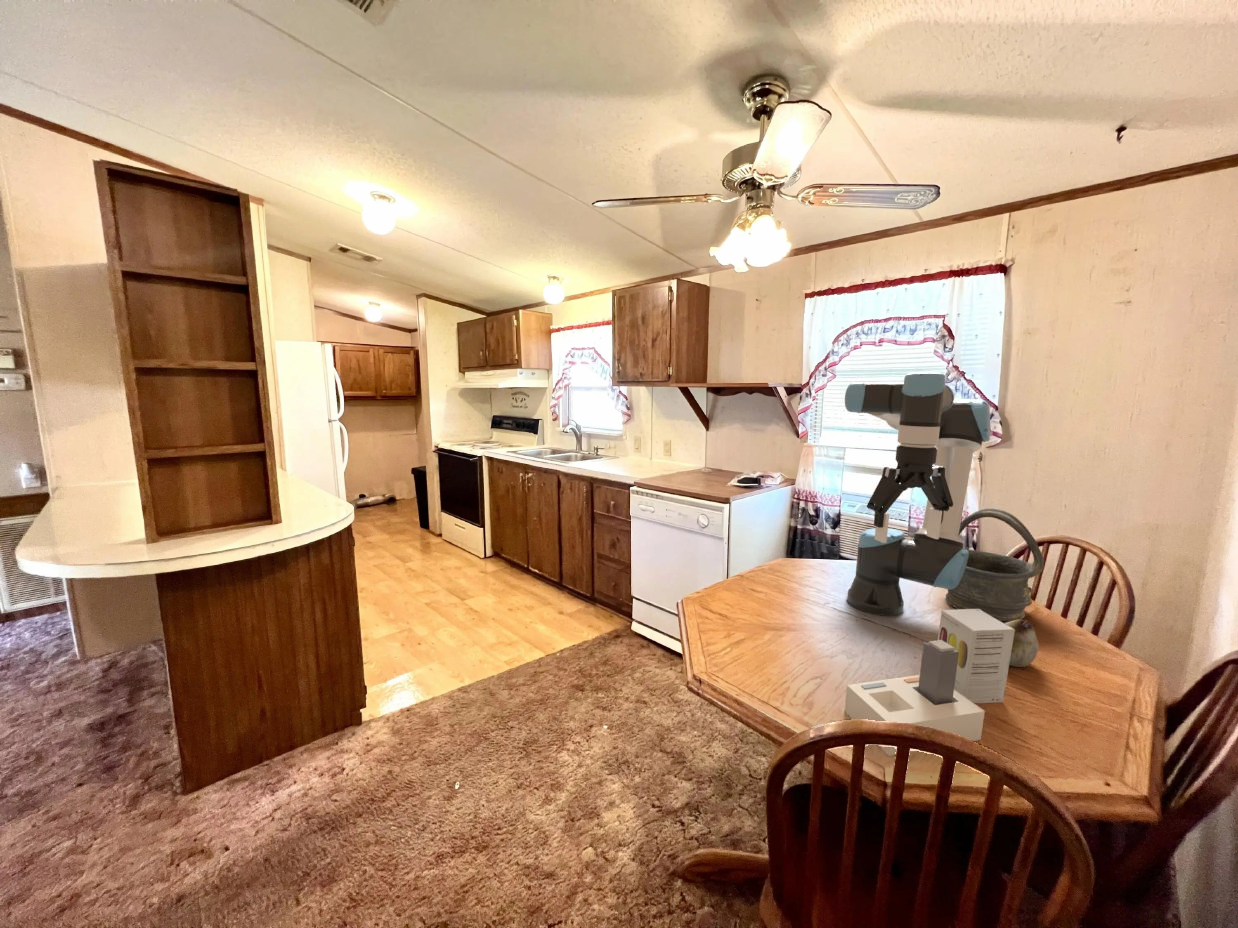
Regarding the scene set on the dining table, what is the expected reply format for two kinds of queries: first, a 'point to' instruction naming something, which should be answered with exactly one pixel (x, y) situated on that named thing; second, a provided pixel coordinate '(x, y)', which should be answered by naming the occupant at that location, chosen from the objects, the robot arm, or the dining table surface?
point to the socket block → (912, 708)
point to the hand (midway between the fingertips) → (906, 539)
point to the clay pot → (997, 575)
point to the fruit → (1023, 643)
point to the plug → (938, 672)
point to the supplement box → (978, 653)
